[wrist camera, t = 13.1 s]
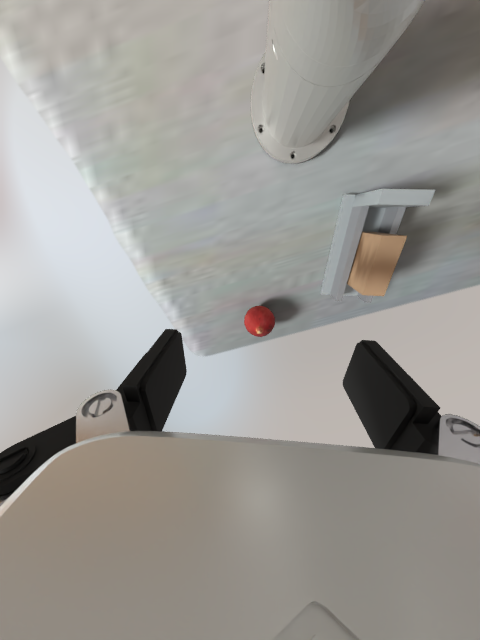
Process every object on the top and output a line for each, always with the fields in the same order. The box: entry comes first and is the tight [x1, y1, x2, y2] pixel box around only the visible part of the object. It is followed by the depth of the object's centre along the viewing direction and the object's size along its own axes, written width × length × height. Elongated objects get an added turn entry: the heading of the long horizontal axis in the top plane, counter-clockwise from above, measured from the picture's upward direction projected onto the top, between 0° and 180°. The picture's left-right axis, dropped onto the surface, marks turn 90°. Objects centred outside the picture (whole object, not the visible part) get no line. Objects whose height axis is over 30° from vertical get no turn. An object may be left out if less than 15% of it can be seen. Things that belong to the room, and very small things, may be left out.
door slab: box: [347, 231, 407, 296], centre depth 30 cm, size 8×3×8 cm, turn 179°
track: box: [320, 189, 435, 303], centre depth 30 cm, size 16×9×8 cm, turn 179°
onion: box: [244, 306, 275, 337], centre depth 37 cm, size 6×6×8 cm
